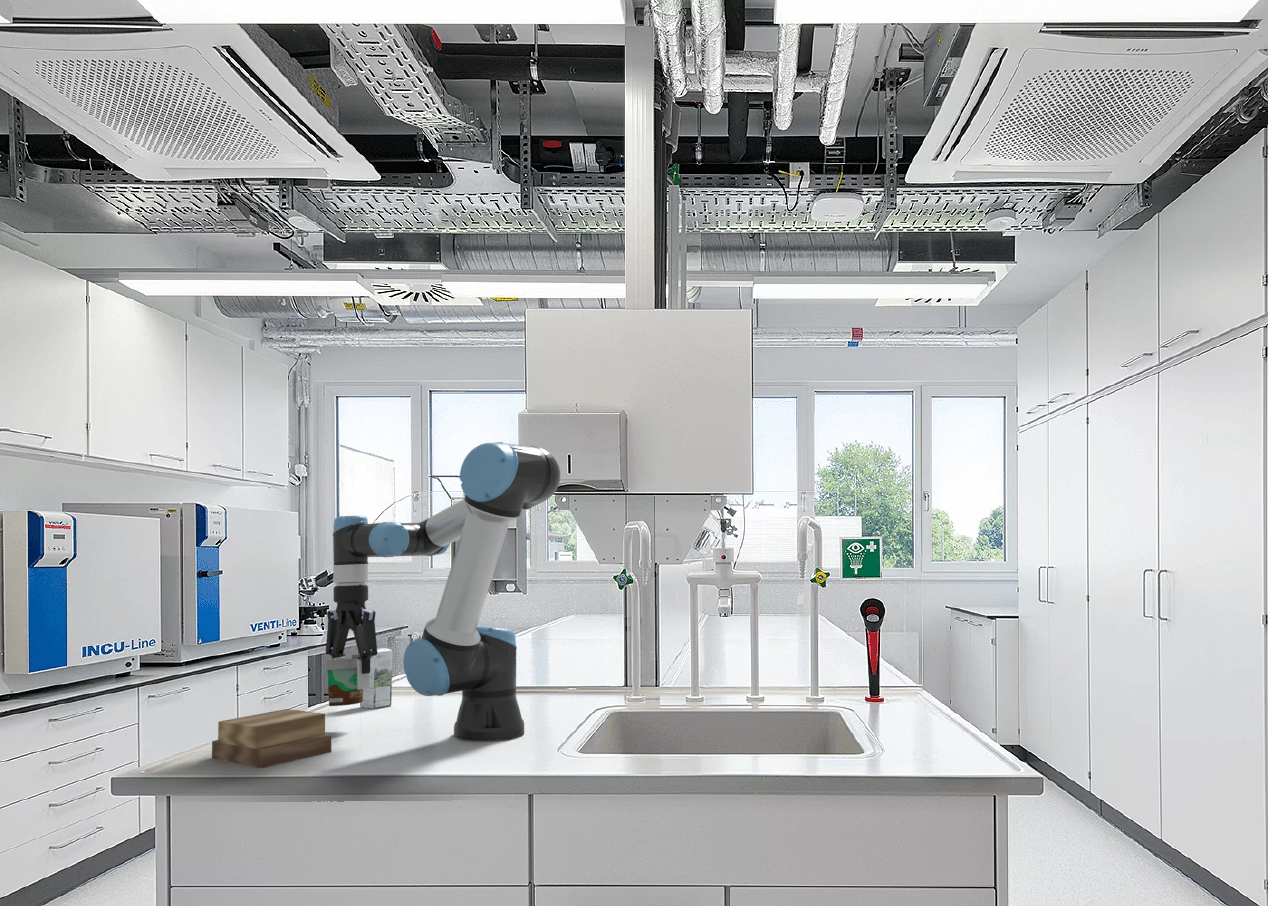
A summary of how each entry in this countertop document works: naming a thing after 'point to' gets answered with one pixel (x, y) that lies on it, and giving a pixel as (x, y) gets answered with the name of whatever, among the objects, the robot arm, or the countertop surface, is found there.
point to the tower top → (271, 728)
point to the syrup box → (379, 681)
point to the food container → (343, 682)
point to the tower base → (272, 751)
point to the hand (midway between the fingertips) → (351, 687)
